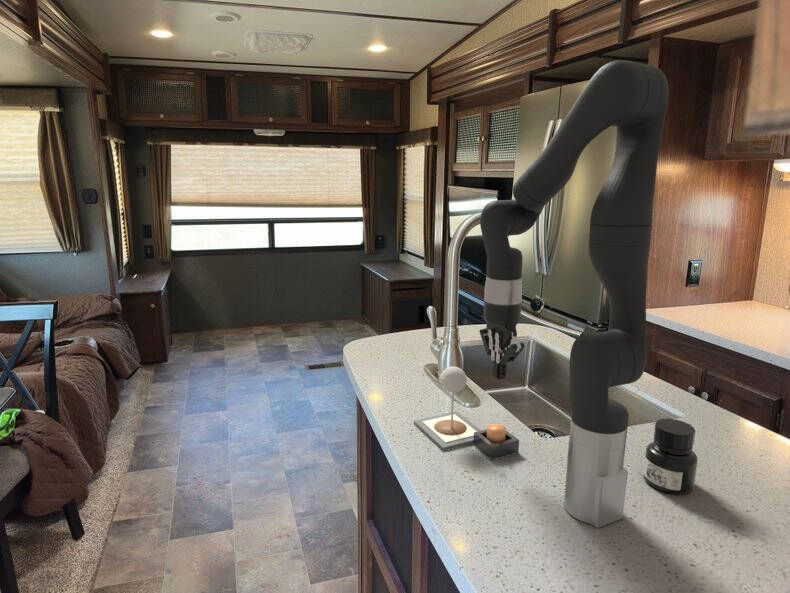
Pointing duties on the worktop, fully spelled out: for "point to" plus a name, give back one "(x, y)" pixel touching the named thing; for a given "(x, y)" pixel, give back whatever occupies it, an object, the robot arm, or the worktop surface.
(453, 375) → the lollipop
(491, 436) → the button
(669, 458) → the ink bottle
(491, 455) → the button housing
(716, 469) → the worktop surface
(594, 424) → the robot arm
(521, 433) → the worktop surface
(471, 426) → the board
